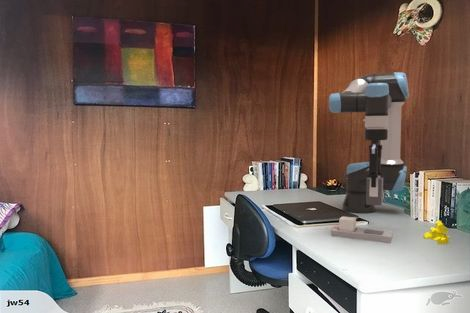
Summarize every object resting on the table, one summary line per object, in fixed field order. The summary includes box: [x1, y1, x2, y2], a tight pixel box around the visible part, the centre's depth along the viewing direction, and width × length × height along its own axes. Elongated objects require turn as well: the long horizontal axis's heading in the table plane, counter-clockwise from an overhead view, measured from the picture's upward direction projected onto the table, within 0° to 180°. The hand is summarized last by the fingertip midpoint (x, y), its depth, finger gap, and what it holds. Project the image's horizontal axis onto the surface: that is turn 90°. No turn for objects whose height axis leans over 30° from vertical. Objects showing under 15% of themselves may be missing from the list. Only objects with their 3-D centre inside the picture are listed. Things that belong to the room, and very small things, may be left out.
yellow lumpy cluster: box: [423, 220, 450, 245], centre depth 134 cm, size 6×8×8 cm
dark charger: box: [366, 177, 384, 207], centre depth 134 cm, size 5×5×9 cm
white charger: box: [338, 216, 357, 232], centre depth 139 cm, size 5×5×6 cm
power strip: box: [330, 224, 394, 244], centre depth 137 cm, size 8×20×4 cm, turn 63°
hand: (374, 194), depth 135 cm, fingers closed on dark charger, 5 cm apart
